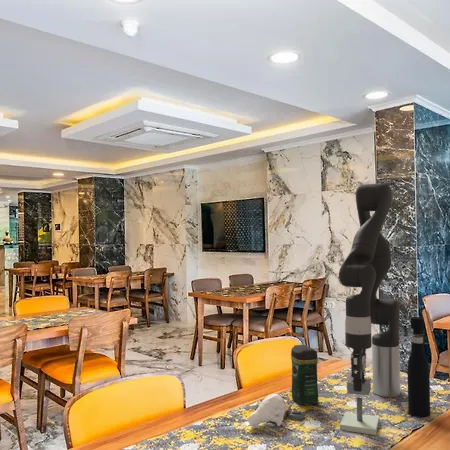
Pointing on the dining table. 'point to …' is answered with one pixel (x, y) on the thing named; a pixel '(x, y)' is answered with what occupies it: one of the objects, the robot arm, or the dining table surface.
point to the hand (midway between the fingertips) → (359, 387)
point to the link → (365, 387)
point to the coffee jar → (304, 375)
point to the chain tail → (293, 414)
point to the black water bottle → (418, 373)
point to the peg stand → (359, 421)
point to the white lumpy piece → (268, 411)
